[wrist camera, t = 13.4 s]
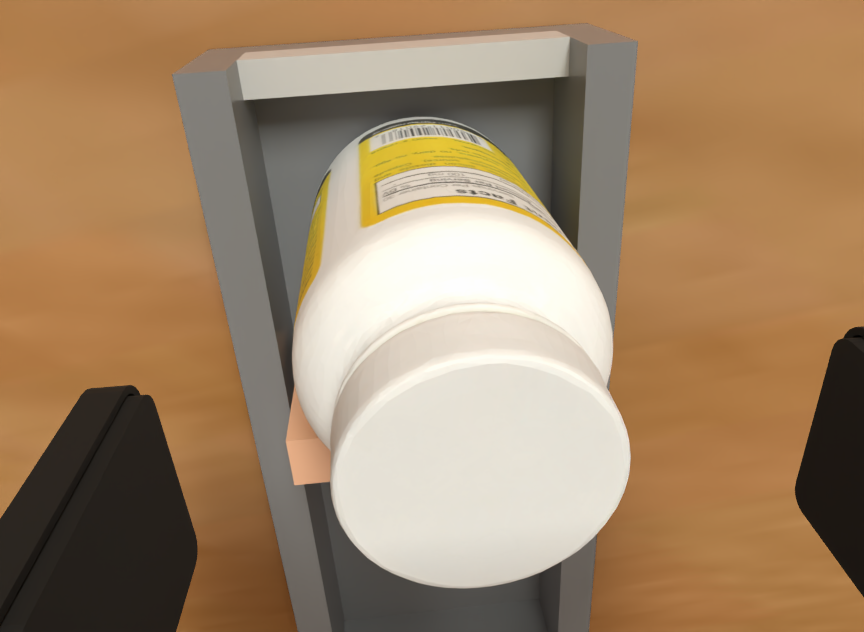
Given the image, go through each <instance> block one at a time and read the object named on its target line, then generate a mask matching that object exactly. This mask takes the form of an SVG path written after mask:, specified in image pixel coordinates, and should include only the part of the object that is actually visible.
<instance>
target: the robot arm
mask: <svg viewBox="0 0 864 632" xmlns="http://www.w3.org/2000/svg"><path fill="white" fill-rule="evenodd" d="M795 495H796V499H797V503H798V505H799V508H800V509H801V511H802V513H803V514H804V516H805V517H806V518H807V520H808V521H809V522H810V524H811V525H812V527H813V528H814V529H815V531H816V532H817V533H818V535H819V536H820V538H821V539H822V540H823V542H824V543H825V544H826V546H827V547H828V549H829V550H830V551H831V553H832V554H833V556H834V557H835V558H836V560H837V561H838V562H839V564H840V565H841V567H842V568H843V569H844V571H845V572H846V573H847V575H848V576H849V578H850V579H851V580H852V582H853V583H854V584H855V586H856V587H857V589H858V590H859V591H860V593H861V594H862V595H863V597H864V327H855V328H852V329H850V330H849V331H848V332H847V333H846V334H845V336H844V338H843V339H840V340H838V341H837V342H836V343H835V344H834V346H833V349H832V352H831V356H830V359H829V363H828V367H827V370H826V374H825V378H824V382H823V385H822V389H821V393H820V396H819V400H818V404H817V407H816V411H815V415H814V418H813V422H812V426H811V429H810V433H809V437H808V440H807V444H806V448H805V451H804V455H803V459H802V462H801V466H800V470H799V473H798V477H797V481H796V486H795ZM196 560H197V539H196V535H195V531H194V528H193V525H192V522H191V519H190V515H189V512H188V509H187V506H186V503H185V499H184V496H183V493H182V490H181V486H180V483H179V480H178V477H177V474H176V470H175V467H174V464H173V461H172V457H171V454H170V451H169V448H168V445H167V441H166V438H165V435H164V432H163V428H162V425H161V422H160V419H159V416H158V412H157V409H156V406H155V403H154V401H153V399H152V398H151V396H149V395H140V393H139V391H138V390H137V389H136V387H134V386H132V385H128V386H115V387H103V388H91V389H87V390H86V391H85V392H84V393H83V394H82V395H81V397H80V398H79V400H78V401H77V403H76V404H75V406H74V407H73V409H72V410H71V412H70V413H69V415H68V416H67V418H66V420H65V421H64V423H63V424H62V426H61V427H60V429H59V430H58V432H57V433H56V435H55V436H54V438H53V439H52V441H51V443H50V444H49V446H48V447H47V449H46V450H45V452H44V453H43V455H42V456H41V458H40V459H39V461H38V462H37V464H36V465H35V467H34V469H33V470H32V472H31V473H30V475H29V476H28V478H27V479H26V481H25V482H24V484H23V485H22V487H21V488H20V490H19V492H18V493H17V495H16V496H15V498H14V499H13V501H12V502H11V504H10V505H9V507H8V508H7V510H6V511H5V513H4V514H3V516H2V517H1V519H0V632H176V629H177V626H178V623H179V619H180V616H181V613H182V609H183V606H184V602H185V599H186V596H187V592H188V589H189V586H190V582H191V579H192V575H193V572H194V569H195V565H196Z"/></svg>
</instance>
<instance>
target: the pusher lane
mask: <svg viewBox="0 0 864 632" xmlns="http://www.w3.org/2000/svg"><path fill="white" fill-rule="evenodd" d="M637 47H638V41H636V40H633V39H630V38H627V37H625V36H622V35H619V34H616V33H613V32H610V31H608V30H605V29H602V28H599V27H596V26H593V25H591V24H588V23H584V24H569V25H555V26H541V27H526V28H512V29H497V30H483V31H469V32H454V33H440V34H426V35H411V36H397V37H382V38H368V39H354V40H339V41H325V42H310V43H296V44H282V45H267V46H253V47H239V48H224V49H210V50H207V51H206V52H204V53H203V54H201V55H200V56H198V57H197V58H195V59H194V60H192V61H191V62H190V63H188V64H187V65H185V66H184V67H182V68H181V69H179V70H178V71H176V72H175V73H173V74H172V76H173V81H174V85H175V90H176V94H177V99H178V103H179V107H180V112H181V116H182V121H183V125H184V130H185V134H186V138H187V143H188V147H189V152H190V156H191V160H192V165H193V169H194V174H195V178H196V183H197V187H198V191H199V196H200V200H201V205H202V209H203V214H204V218H205V222H206V227H207V231H208V236H209V240H210V244H211V249H212V253H213V258H214V262H215V267H216V271H217V275H218V280H219V284H220V289H221V293H222V298H223V302H224V306H225V311H226V315H227V320H228V324H229V329H230V333H231V337H232V342H233V346H234V351H235V355H236V359H237V364H238V368H239V373H240V377H241V382H242V386H243V390H244V395H245V399H246V404H247V408H248V413H249V417H250V421H251V426H252V430H253V435H254V439H255V443H256V448H257V452H258V457H259V461H260V466H261V470H262V474H263V479H264V483H265V488H266V492H267V497H268V501H269V505H270V510H271V514H272V519H273V523H274V528H275V532H276V536H277V541H278V545H279V550H280V554H281V558H282V563H283V567H284V572H285V576H286V581H287V585H288V589H289V594H290V598H291V603H292V607H293V612H294V616H295V620H296V625H297V629H298V632H589V624H590V612H591V600H592V588H593V576H594V564H595V552H596V540H597V534H596V535H595V536H594V537H593V538H592V539H591V540H590V541H589V542H588V543H587V544H586V545H584V546H583V547H582V548H581V549H580V550H578V551H577V552H576V553H574V554H573V555H571V556H570V557H568V558H566V559H565V560H563V561H561V562H559V563H558V564H556V565H554V566H552V567H550V568H548V569H546V570H544V571H542V572H540V573H537V574H535V575H532V576H530V577H527V578H524V579H520V580H517V581H514V582H510V583H505V584H500V585H495V586H489V587H480V588H444V587H437V586H430V585H425V584H421V583H417V582H414V581H411V580H408V579H406V578H403V577H400V576H398V575H395V574H393V573H391V572H389V571H387V570H385V569H383V568H381V567H380V566H378V565H377V564H376V563H374V562H373V561H371V560H370V559H368V558H367V557H366V556H365V555H364V554H363V553H362V552H361V551H360V550H359V549H358V548H357V547H356V546H355V545H354V544H353V542H352V541H351V540H350V539H349V537H348V536H347V534H346V533H345V531H344V530H343V528H342V527H341V525H340V523H339V520H338V518H337V516H336V513H335V509H334V506H333V502H332V497H331V489H330V482H322V483H312V484H303V485H294V480H293V475H292V470H291V465H290V460H289V455H288V450H287V445H286V436H287V430H288V424H289V417H290V411H291V404H292V398H293V392H294V385H295V384H294V378H293V368H292V347H293V334H294V323H295V317H296V311H297V305H298V299H299V293H300V287H301V280H302V274H303V267H304V261H305V255H306V248H307V241H308V235H309V229H310V222H311V216H312V211H313V206H314V202H315V199H316V195H317V192H318V188H319V186H320V184H321V181H322V179H323V177H324V175H325V173H326V172H327V170H328V168H329V167H330V165H331V163H332V162H333V161H334V159H335V158H336V157H337V156H338V154H339V153H340V152H341V151H342V150H343V149H344V148H345V147H346V146H347V145H348V144H350V143H351V142H352V141H353V140H355V139H356V138H357V137H359V136H360V135H362V134H363V133H365V132H367V131H368V130H370V129H372V128H374V127H376V126H379V125H381V124H384V123H386V122H389V121H393V120H397V119H402V118H409V117H438V118H443V119H448V120H452V121H455V122H458V123H461V124H464V125H466V126H468V127H470V128H473V129H474V130H476V131H478V132H479V133H481V134H482V135H484V136H485V137H487V138H488V139H489V140H491V141H492V142H493V143H494V144H495V145H496V146H497V147H498V148H499V149H500V150H502V151H503V152H504V153H505V155H506V156H507V157H508V158H509V159H510V160H511V161H512V163H513V164H514V165H515V167H516V168H517V169H518V171H519V172H520V173H521V175H522V176H523V178H524V179H525V180H526V182H527V183H528V184H529V186H530V187H531V188H532V190H533V191H534V193H535V194H536V195H537V197H538V198H539V200H540V201H541V202H542V204H543V205H544V206H545V208H546V209H547V211H548V212H549V213H550V215H551V216H552V218H553V219H554V220H555V222H556V223H557V225H558V226H559V227H560V229H561V230H562V232H563V233H564V234H565V236H566V237H567V239H568V240H569V241H570V243H571V244H572V245H573V247H574V248H575V249H576V250H577V252H578V253H579V255H580V256H581V258H582V259H583V260H584V262H585V263H586V265H587V266H588V268H589V270H590V271H591V273H592V275H593V277H594V279H595V281H596V283H597V285H598V287H599V288H600V290H601V292H602V295H603V297H604V300H605V302H606V305H607V308H608V312H609V316H610V321H611V327H612V332H613V336H614V324H615V312H616V300H617V288H618V276H619V263H620V251H621V239H622V227H623V215H624V203H625V191H626V179H627V167H628V155H629V143H630V131H631V119H632V107H633V95H634V83H635V71H636V59H637ZM610 372H611V371H610ZM609 384H610V376H609V379H608V383H607V386H606V387H607V389H608V391H609Z"/></svg>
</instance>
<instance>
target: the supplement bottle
mask: <svg viewBox="0 0 864 632" xmlns="http://www.w3.org/2000/svg"><path fill="white" fill-rule="evenodd" d="M612 357H613V332H612V327H611V321H610V316H609V312H608V308H607V305H606V302H605V300H604V297H603V295H602V292H601V290H600V288H599V287H598V285H597V283H596V281H595V279H594V277H593V275H592V273H591V271H590V270H589V268H588V266H587V265H586V263H585V262H584V260H583V259H582V258H581V256H580V255H579V253H578V252H577V250H576V249H575V248H574V247H573V245H572V244H571V243H570V241H569V240H568V239H567V237H566V236H565V234H564V233H563V232H562V230H561V229H560V227H559V226H558V225H557V223H556V222H555V220H554V219H553V218H552V216H551V215H550V213H549V212H548V211H547V209H546V208H545V206H544V205H543V204H542V202H541V201H540V200H539V198H538V197H537V195H536V194H535V193H534V191H533V190H532V188H531V187H530V186H529V184H528V183H527V182H526V180H525V179H524V178H523V176H522V175H521V173H520V172H519V171H518V169H517V168H516V167H515V165H514V164H513V163H512V161H511V160H510V159H509V158H508V157H507V156H506V155H505V153H504V152H503V151H502V150H500V149H499V148H498V147H497V146H496V145H495V144H494V143H493V142H492V141H491V140H489V139H488V138H487V137H485V136H484V135H482V134H481V133H479V132H478V131H476V130H474V129H473V128H470V127H468V126H466V125H464V124H461V123H458V122H455V121H452V120H448V119H443V118H438V117H409V118H402V119H397V120H393V121H389V122H386V123H384V124H381V125H379V126H376V127H374V128H372V129H370V130H368V131H367V132H365V133H363V134H362V135H360V136H359V137H357V138H356V139H355V140H353V141H352V142H351V143H350V144H348V145H347V146H346V147H345V148H344V149H343V150H342V151H341V152H340V153H339V154H338V156H337V157H336V158H335V159H334V161H333V162H332V163H331V165H330V167H329V168H328V170H327V172H326V173H325V175H324V177H323V179H322V181H321V184H320V186H319V188H318V192H317V195H316V199H315V202H314V206H313V211H312V216H311V222H310V229H309V235H308V241H307V248H306V255H305V261H304V267H303V274H302V280H301V287H300V293H299V299H298V305H297V311H296V317H295V323H294V334H293V347H292V368H293V378H294V384H295V388H296V393H297V396H298V399H299V402H300V405H301V408H302V410H303V412H304V414H305V417H306V419H307V421H308V422H309V424H310V426H311V427H312V429H313V430H314V432H315V433H316V435H317V436H318V438H319V439H320V440H321V441H322V442H323V443H324V445H325V446H326V447H327V448H328V449H329V450H330V451H331V470H330V489H331V497H332V502H333V506H334V509H335V513H336V516H337V518H338V520H339V523H340V525H341V527H342V528H343V530H344V531H345V533H346V534H347V536H348V537H349V539H350V540H351V541H352V542H353V544H354V545H355V546H356V547H357V548H358V549H359V550H360V551H361V552H362V553H363V554H364V555H365V556H366V557H367V558H368V559H370V560H371V561H373V562H374V563H376V564H377V565H378V566H380V567H381V568H383V569H385V570H387V571H389V572H391V573H393V574H395V575H398V576H400V577H403V578H406V579H408V580H411V581H414V582H417V583H421V584H425V585H430V586H437V587H444V588H480V587H489V586H495V585H500V584H505V583H510V582H514V581H517V580H520V579H524V578H527V577H530V576H532V575H535V574H537V573H540V572H542V571H544V570H546V569H548V568H550V567H552V566H554V565H556V564H558V563H559V562H561V561H563V560H565V559H566V558H568V557H570V556H571V555H573V554H574V553H576V552H577V551H578V550H580V549H581V548H582V547H583V546H584V545H586V544H587V543H588V542H589V541H590V540H591V539H592V538H593V537H594V536H595V535H596V534H597V533H598V532H599V531H600V529H601V528H602V527H603V526H604V525H605V524H606V522H607V521H608V520H609V518H610V517H611V515H612V514H613V512H614V511H615V509H616V508H617V506H618V504H619V502H620V499H621V497H622V495H623V493H624V491H625V487H626V484H627V481H628V477H629V471H630V459H631V456H630V445H629V438H628V434H627V430H626V427H625V425H624V422H623V419H622V417H621V414H620V412H619V410H618V408H617V406H616V404H615V402H614V400H613V399H612V397H611V395H610V393H609V391H608V389H607V387H606V386H607V383H608V379H609V376H610V371H611V366H612Z"/></svg>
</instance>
